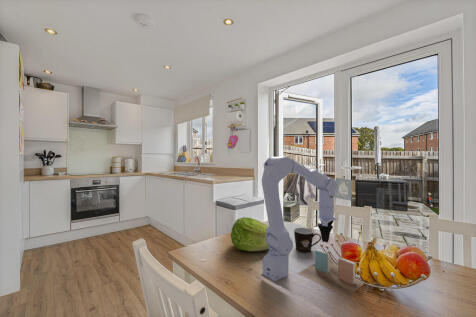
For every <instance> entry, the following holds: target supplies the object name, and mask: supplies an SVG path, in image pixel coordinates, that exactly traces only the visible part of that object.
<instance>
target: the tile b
mask: <svg viewBox="0 0 476 317" xmlns="http://www.w3.org/2000/svg"><path fill="white" fill-rule="evenodd" d="M337 259H338V260H337V262H338V279H341V280H343V281H345V282H347V283H350V284H352V285H353V284H354V283H355V269H356V262H354V261H352V260H349V259H346V258H343V257H339V258H337Z"/></svg>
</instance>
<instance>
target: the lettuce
mask: <svg viewBox="0 0 476 317" xmlns="http://www.w3.org/2000/svg"><path fill="white" fill-rule="evenodd" d="M268 227H269V224H266V223H264V222H262V221H260V220H258V219H254V218H253V217H247V216H244V217H243V216H242V217H239V218H237V219H236V220H235V221H234V223H233V225H232V228H231V232H230V238H231V242H232V244H233V245H234V247H235V248H236V249H238V250H240V251H241V250H242V251H247V252H250V253H251V252H253V253H254V252H262V251H266V250H269V248H268V244H267V243H266V240H265V238H266V229H267V228H268Z"/></svg>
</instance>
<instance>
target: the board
mask: <svg viewBox="0 0 476 317" xmlns="http://www.w3.org/2000/svg"><path fill="white" fill-rule="evenodd" d="M331 260H332V259H331V258H330V270H329V273H325V272H323V271H320V270H318V269H316V268H315V263H313V264H312V265H310V266H308V267H307V268H305V269H303V270H301V271H299V272H297V274H299V275H301V276H303V277H305V278H307V279H309V280H311V281H313V282H315V283H317V284H319V285H321V286H323V287H324V288H327V289H329V290H331V291H332V292H335V293H336V294H337V293H338V294H339V295H341V296H343V297H345V298H347V299H349V298H350V297H351V296H352V295H353V294H354V293H355V292H357V291H358V290H359V289H360V288H361V287H362V286H363V285H364V284H365V283H362V282H360V281H358V280H356V279H355V283H354V284H353V285H352V284H350V283H347V282H345V281H343V280H341V279H338V267H337V266H336V265H335V264H334V263H333V262H332V261H331Z"/></svg>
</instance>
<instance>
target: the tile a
mask: <svg viewBox="0 0 476 317" xmlns="http://www.w3.org/2000/svg"><path fill="white" fill-rule="evenodd" d="M330 257H331V256H330V252H326V251H324V250H321V249H319V248H317V249H314V264H315V268H316V269H318V270H320V271H323V272H325V273H329V270H330V259H331V258H330Z"/></svg>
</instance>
